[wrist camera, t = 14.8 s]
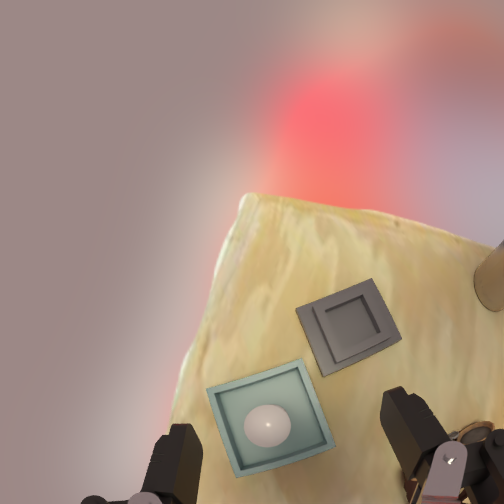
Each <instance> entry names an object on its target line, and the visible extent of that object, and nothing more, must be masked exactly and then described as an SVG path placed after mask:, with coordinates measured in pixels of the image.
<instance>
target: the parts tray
mask: <svg viewBox="0 0 504 504" xmlns="http://www.w3.org/2000/svg"><path fill="white" fill-rule="evenodd" d="M206 391H207V394H208V397H209V401H210V404H211V407H212V410H213V414H214V417H215V420H216V423H217V426H218V429H219V432H220V435H221V438H222V441H223V444H224V446H225V449H226V452H227V455H228V458H229V460H230V463H231V466H232V468H233V471H234V474H235V476H236V478H238V477H243V476H247V475H251V474H255V473H259V472H263V471H267V470H271V469H274V468H278V467H281V466H284V465H287V464H291V463H294V462H297V461H300V460H303V459H305V458H308V457H311V456H314V455H316V454H319V453H322V452H324V451H327V450H329V449H332V448H334V447H336V445H335V442H334V440H333V437H332V434H331V432H330V429H329V427H328V424H327V421H326V419H325V416H324V414H323V411H322V408H321V406H320V403H319V401H318V398H317V396H316V393H315V390H314V388H313V385H312V383H311V380H310V377H309V375H308V372H307V370H306V367H305V365H304V362H303V360H302V358H301V359H298V360H295V361H293V362H290V363H287V364H284V365H282V366H279V367H276V368H273V369H270V370H267V371H264V372H261V373H258V374H255V375H252V376H249V377H246V378H242V379H239V380H236V381H232V382H229V383H225V384H222V385H218V386H215V387H211V388H207V389H206ZM270 404H274V405H278V406H281V407H282V408H284V409H285V410H286V412H287V413H288V416H289V418H290V422H291V430H290V433H289V435H288V437H287V438H286V439H285V440H284V441H283V442H282V443H281V444H279V445H277V446H273V447H261V446H258V445H255V444H254V443H252V442H251V441H250V440H249V439H248V438H247V436H246V434H245V431H244V421H245V418H246V416H247V415H248V414H249V412H250V411H252V410H253V409H254V408H256V407H258V406H262V405H270Z"/></svg>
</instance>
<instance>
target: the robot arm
mask: <svg viewBox="0 0 504 504" xmlns="http://www.w3.org/2000/svg"><path fill="white" fill-rule="evenodd" d="M474 285H475V290H476V293H477V295H478V297H479V299H480V301H481V302H482V303H483V305H484V306H485V307H487V308H488V309H490V310H492V311H500V310H502V309H503V308H504V241H502V243H501V244H500V245H499V246H498V247H497V248H496V249H495V250H494V251H493V252H492V253H491V254H490V255H489V256H488V258H487V259H486V260H485V261H484V262H483V263H482V264H481V265H480V266H479V267H478V268H477V270H476V272H475V276H474ZM380 421H381V425H382V427H383V429H384V431H385V434H386V436H387V438H388V440H389V442H390V444H391V446H392V448H393V450H394V453H395V455H396V457H397V459H398V461H399V463H400V465H401V468H402V470H403V472H404V474H405V476H406V479H407V481H409V480H411V479H413V478H416V479H417V482H418V484H417V486H416V489H415V491H414V494H413V496H412V499H411V501H410V504H460V503H461V501H460V500H459V499H458V496H459V492H460V488H463V487H464V489H465V491H466V493H467V495H468V497H469V500H470V502H471V504H504V429H496V430H494V431H492V432H490V433H489V434H488V436H487V437H486V439H485V440H483V441H479V442H475V443H471V444H466V445H463V444H462V443H460V442H457V441H452V440H451V439H450V438H449V436H448V435H447V433H446V432H445V430H444V429H443V427H442V426H441V424H440V423H439V421H438V420H437V418H436V417H435V415H433V412H432V411H431V410H430V409H429V407H428V405H427V404H426V402H425V401H424V400H423V399H422V398H421V397H419V396H418V395H416V394H414V393H413V394H411V395H408V394H407V393H406V391H405V390H404V388H403V387H401V386H399V387H396V388H393V389H390V390H387V391H385V392H384V393H383V399H382V405H381V411H380ZM202 459H203V448H202V444H201V442H200V440H199V438H198V436H197V434H196V432H195V430H194V428H193V426H192V425H191V424H172V426H171V429H170V432H169V435H162V436H161V437H160V439H159V440H158V441H157V442H156V443H155V446H154V450H153V455H152V456H151V459H150V461H151V462H150V463H149V466H148V470H147V473H146V476H145V480H144V483H143V487H142V489H141V491H140V493H137V494H135V495H133V496H132V497H131V498H130V499H129V500H125V501H112V502H107V501H106V500H105V499H104V498H102V497H100V496H94V495H93V496H89V497H86V498H85V499H84V500H83V501H82V502H81V504H196V502H197V495H198V487H199V480H200V473H201V466H202Z"/></svg>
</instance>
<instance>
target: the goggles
mask: <svg viewBox="0 0 504 504" xmlns="http://www.w3.org/2000/svg"><path fill="white" fill-rule="evenodd" d="M494 429H495V426H494V423H492V422H490V421H482V422H477V423H475V424H472V425H470V426H468V427H466V428H465V429H463V430H462V431H461V432H460V433H459V432H457V431H455V432H452V433H450V434H449V438H450V439H451V440H452V439H455V438H456V440H457V442H460V443H462V444H463V445H466V444H471V443H475V442H479V441H483V440H485V439H486V437H487V436H488V434H489V433H490V432H492V431H494ZM452 441H453V440H452ZM417 484H418V482H417V479H416V478H413V479H411V480H409V481H407V479H406V476H405V484H404V489H405V491H406V492H407V499H408V502H409V504H410V501H411V499H412V496H413V494H414V491H415V489H416V486H417ZM467 497H468V495H467V493H466V491H465V489H464V490H463V491H462V492H461V494H459V496H458V499H459V500H460V501H461V503H460V504H466V503H462V501H463V500H464V499H466V498H467Z"/></svg>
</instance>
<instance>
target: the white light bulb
mask: <svg viewBox="0 0 504 504" xmlns="http://www.w3.org/2000/svg"><path fill="white" fill-rule="evenodd" d="M290 430H291V422H290V418H289V416H288V413H287V412H286V410H285V409H284V408H282V407H281V406H278V405H274V404H270V405H262V406H258V407H256V408H254V409H253V410H252V411H250V412H249V414H248V415H247V416H246V418H245V421H244V431H245V434H246V436H247V438H248V439H249V440H250V441H251V442H252V443H254V444H255V445H258V446H261V447H273V446H277V445H279V444H281V443H282V442H283V441H284V440H285V439H286V438H287V437H288V435H289V433H290Z"/></svg>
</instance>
